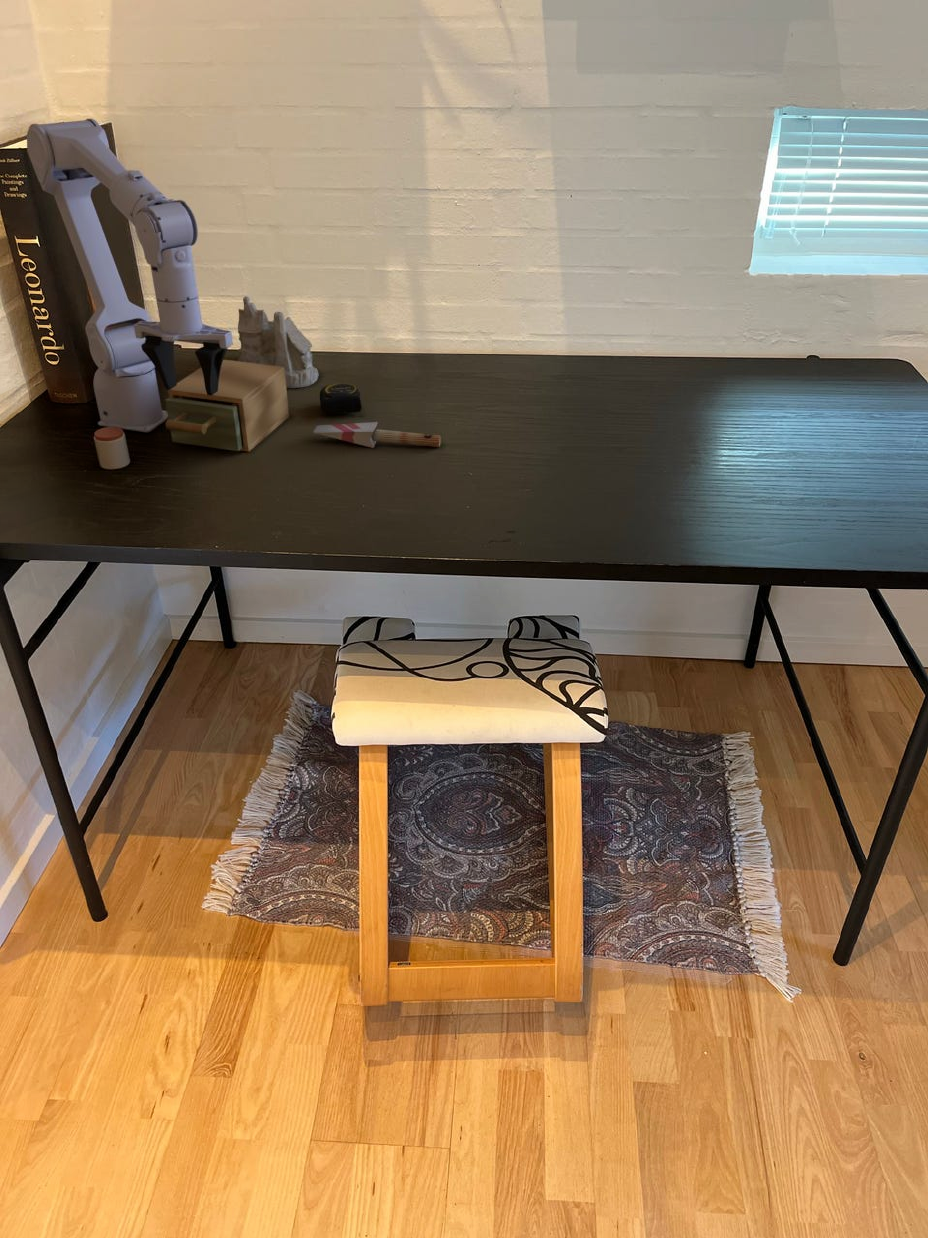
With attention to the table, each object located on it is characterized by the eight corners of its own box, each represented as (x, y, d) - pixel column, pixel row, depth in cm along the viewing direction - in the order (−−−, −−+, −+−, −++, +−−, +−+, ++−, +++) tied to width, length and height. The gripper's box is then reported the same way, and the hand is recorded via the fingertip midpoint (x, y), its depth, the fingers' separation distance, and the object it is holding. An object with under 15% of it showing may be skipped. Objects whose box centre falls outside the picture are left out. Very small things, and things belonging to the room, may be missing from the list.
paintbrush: (317, 415, 151) (442, 428, 150) (318, 431, 153) (441, 444, 151) (311, 424, 148) (438, 438, 146) (312, 441, 149) (437, 454, 148)
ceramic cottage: (300, 391, 167) (292, 303, 159) (220, 382, 172) (209, 296, 165) (341, 368, 180) (335, 285, 172) (265, 360, 185) (257, 279, 177)
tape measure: (320, 419, 158) (319, 397, 156) (320, 403, 163) (319, 382, 161) (362, 417, 159) (361, 396, 156) (360, 402, 164) (359, 381, 162)
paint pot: (93, 467, 142) (86, 435, 139) (110, 455, 145) (104, 424, 143) (119, 471, 141) (112, 439, 138) (136, 458, 144) (129, 428, 142)
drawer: (223, 464, 141) (216, 421, 137) (155, 454, 144) (147, 412, 140) (277, 418, 156) (273, 378, 152) (214, 409, 158) (209, 370, 154)
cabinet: (248, 452, 147) (242, 399, 142) (176, 441, 150) (167, 389, 145) (289, 416, 158) (284, 366, 154) (221, 407, 161) (214, 358, 156)
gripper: (115, 299, 131) (133, 393, 138) (209, 309, 127) (223, 405, 135) (143, 285, 136) (159, 377, 144) (234, 295, 133) (246, 388, 141)
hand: (191, 390), depth 140 cm, fingers open, 6 cm apart
